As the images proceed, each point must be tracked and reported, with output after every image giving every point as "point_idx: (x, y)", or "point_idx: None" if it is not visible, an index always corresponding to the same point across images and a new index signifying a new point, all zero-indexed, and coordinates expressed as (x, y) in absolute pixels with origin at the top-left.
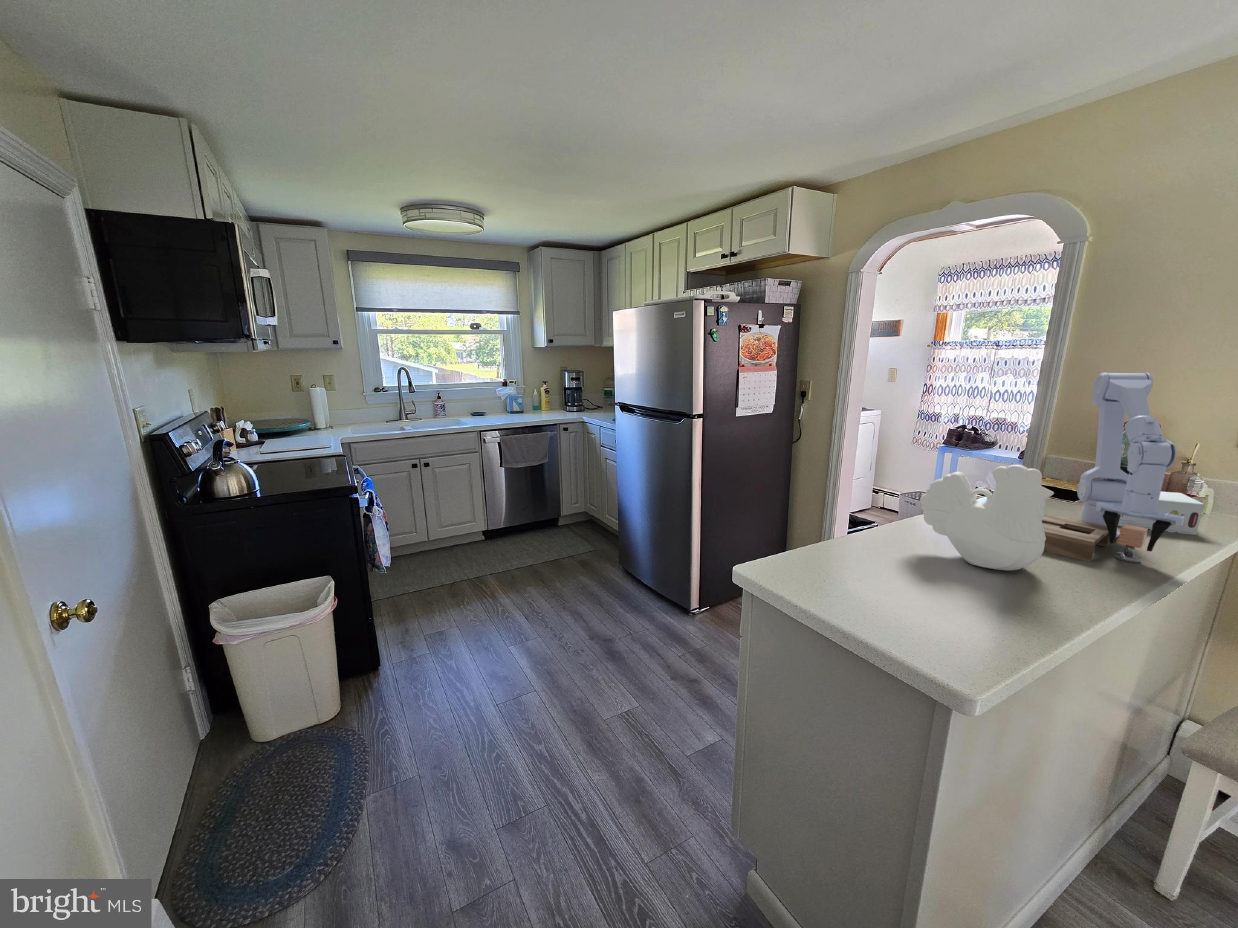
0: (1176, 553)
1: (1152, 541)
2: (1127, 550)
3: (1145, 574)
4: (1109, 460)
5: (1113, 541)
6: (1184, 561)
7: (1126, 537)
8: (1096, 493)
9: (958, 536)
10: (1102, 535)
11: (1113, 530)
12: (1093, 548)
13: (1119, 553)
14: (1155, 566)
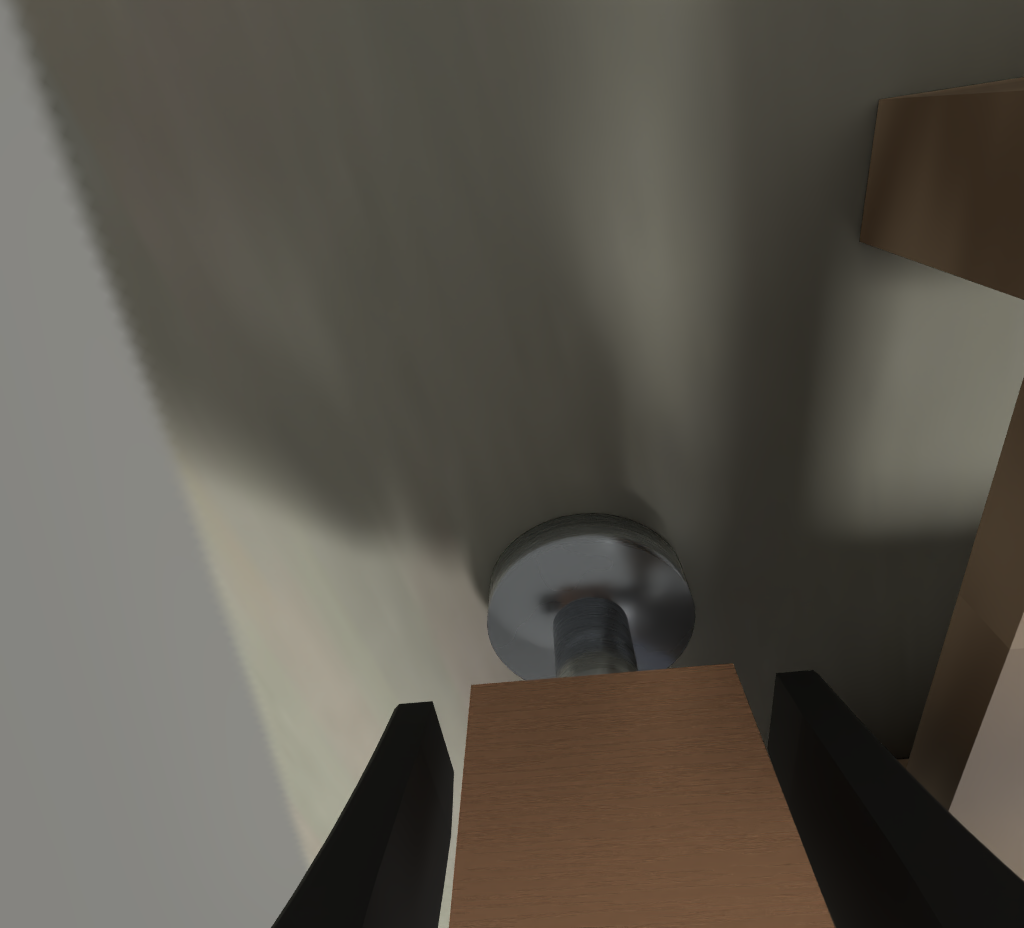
0: (441, 921)
1: (350, 843)
2: (606, 648)
3: (282, 229)
4: None
5: (785, 703)
6: None
7: (673, 788)
8: None
9: None
10: (963, 742)
11: (920, 875)
12: (1007, 200)
13: (664, 622)
14: (375, 596)
